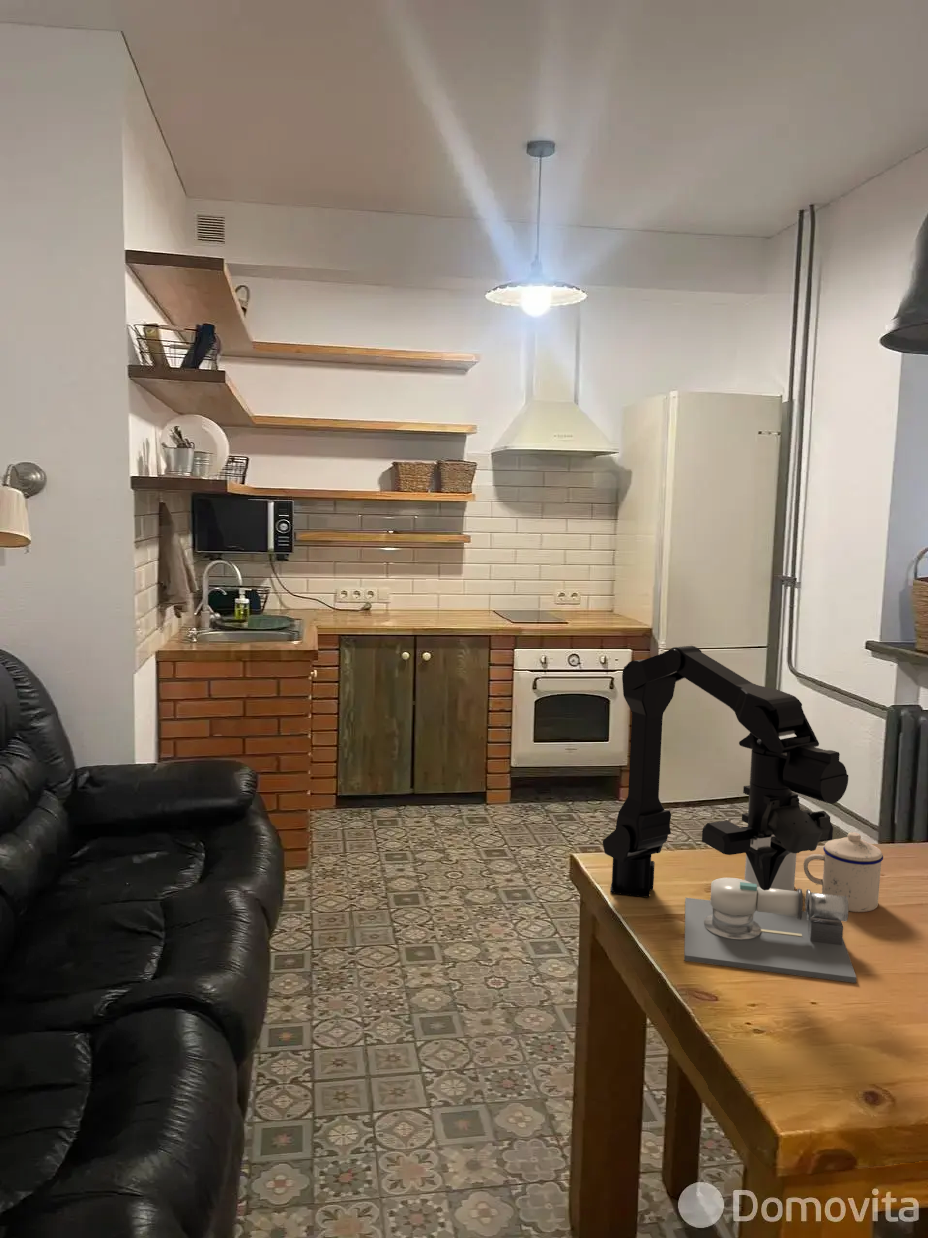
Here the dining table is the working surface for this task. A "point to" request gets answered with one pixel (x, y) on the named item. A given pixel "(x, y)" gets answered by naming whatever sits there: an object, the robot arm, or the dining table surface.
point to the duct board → (766, 946)
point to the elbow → (753, 898)
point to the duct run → (825, 917)
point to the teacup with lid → (850, 871)
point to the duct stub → (732, 926)
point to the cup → (783, 876)
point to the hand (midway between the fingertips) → (764, 889)
